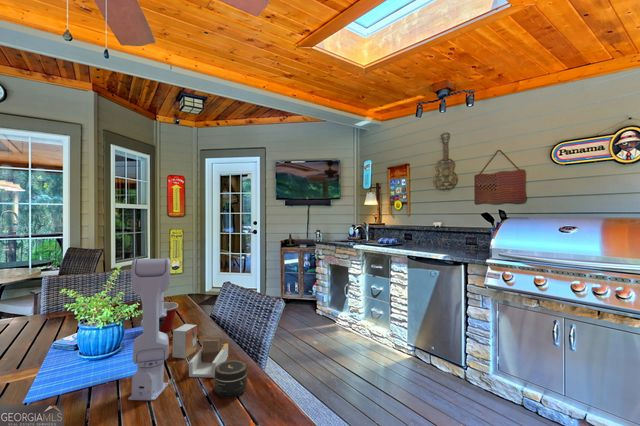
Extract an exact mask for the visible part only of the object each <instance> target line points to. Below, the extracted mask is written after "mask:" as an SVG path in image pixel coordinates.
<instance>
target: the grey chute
mask: <svg viewBox="0 0 640 426" xmlns="http://www.w3.org/2000/svg"><path fill="white" fill-rule="evenodd" d="M227 357H228V358H229V343H222V349H221V351H220V352H219V354H218V355H217V357H216V358H215V359H214V361H213V362H203V345H202V346H201V348H200V349H199V350H198V351H197V352H196V354H195V355H194V356H193V357H192V358H191V359H190V361H189V362H188V378H215V377H214V374H215V368H216V366H217V365H218V364H220V363H222V362H225V361H227V359H228V358H227Z"/></svg>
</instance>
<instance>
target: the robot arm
mask: <svg viewBox="0 0 640 426" xmlns="http://www.w3.org/2000/svg"><path fill="white" fill-rule="evenodd" d="M130 269H131V270H130V271H131V272H130V277H131V278H130V279H131V289H132V291H133V292H134V293H135V294H137V295H139V297H140V301H141V304H142V306H141V307H142V310H141V311H142V320H140V327H142V334H140V335H139V336H137V337H135V338H134V341H133V346H132V347H133V348H132V363H134V365H136V367H137V368H136V372H135V373H134V374H133V376H132V378H131V395H130V396H129V397H128V399H127V400H128V401H156V399H158V398H159V396H160V395H161V394H162V393H163V392H164V390H165V389H166V388H167V387H168V385H169V382H164V373H165V372H164V367H165V361H167V359H168V358H169V344H170V343H169V342H170V340H169V336H168V333H166V332H160V329H161V326H162V324H163V322H164V320H165V318H161V317H165V316H166V315H167V314H166V308H164V302H165V300H164V299H165V298H164V296H165V293H164V292H166V291H167V290H169V286H170V277H171V259H170V258H169V257H165V258H134V259H133V260H132V261H131V268H130Z"/></svg>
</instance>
